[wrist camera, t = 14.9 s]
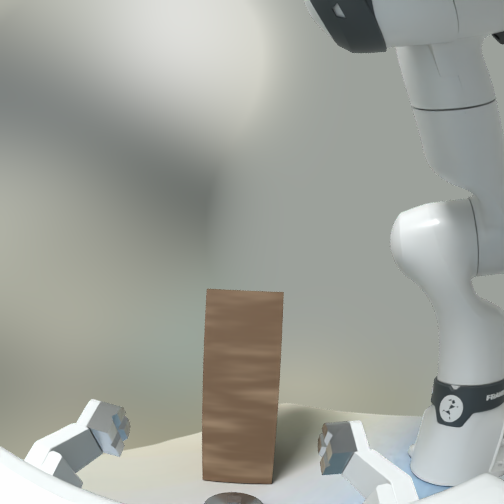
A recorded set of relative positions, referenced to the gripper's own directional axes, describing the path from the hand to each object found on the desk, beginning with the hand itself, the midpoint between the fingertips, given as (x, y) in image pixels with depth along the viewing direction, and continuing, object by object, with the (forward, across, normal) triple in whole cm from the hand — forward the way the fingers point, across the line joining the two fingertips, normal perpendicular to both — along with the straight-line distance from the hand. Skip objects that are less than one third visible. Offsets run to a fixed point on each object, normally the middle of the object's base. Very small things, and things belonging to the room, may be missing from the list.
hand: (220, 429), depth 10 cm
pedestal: (+17, 0, +31) cm, 36 cm away
